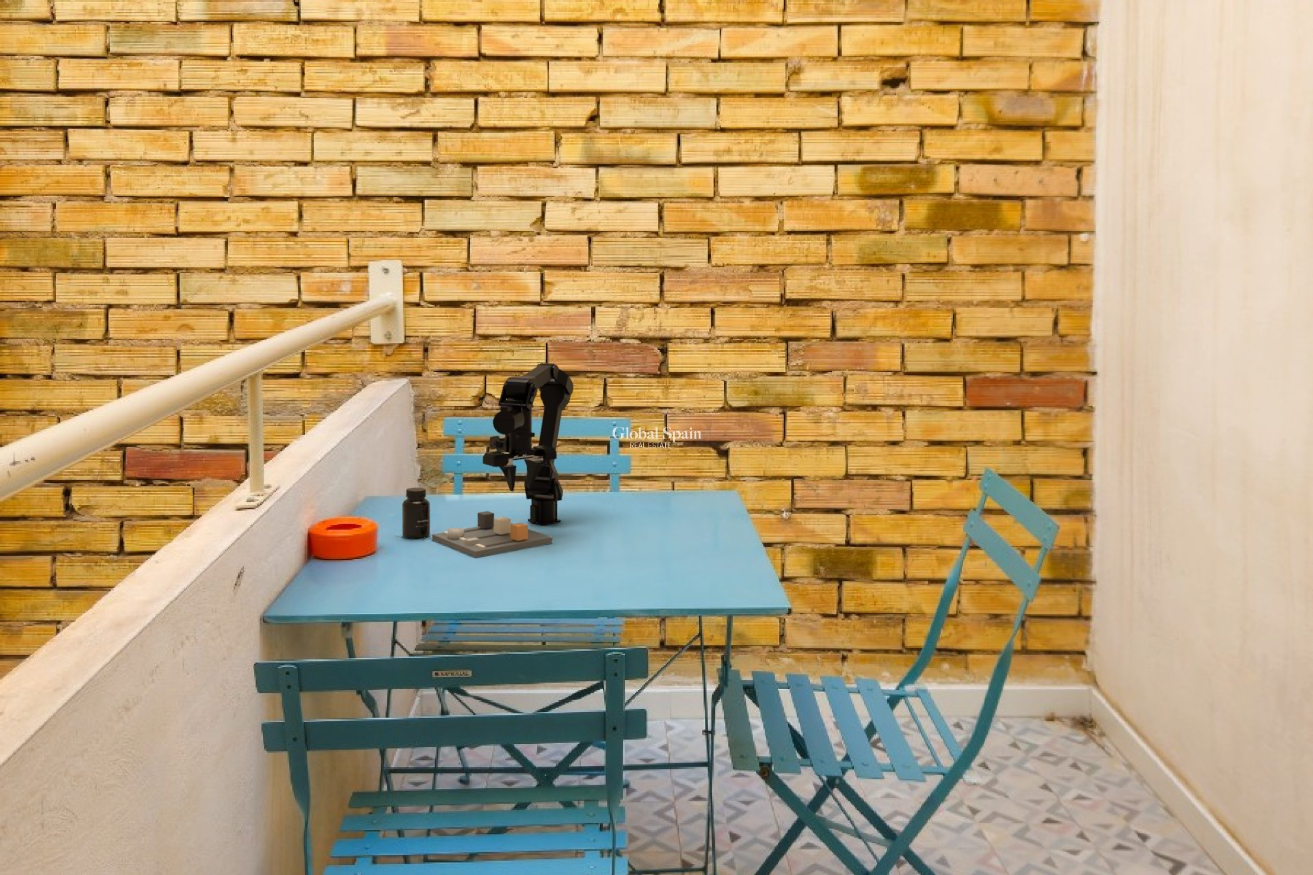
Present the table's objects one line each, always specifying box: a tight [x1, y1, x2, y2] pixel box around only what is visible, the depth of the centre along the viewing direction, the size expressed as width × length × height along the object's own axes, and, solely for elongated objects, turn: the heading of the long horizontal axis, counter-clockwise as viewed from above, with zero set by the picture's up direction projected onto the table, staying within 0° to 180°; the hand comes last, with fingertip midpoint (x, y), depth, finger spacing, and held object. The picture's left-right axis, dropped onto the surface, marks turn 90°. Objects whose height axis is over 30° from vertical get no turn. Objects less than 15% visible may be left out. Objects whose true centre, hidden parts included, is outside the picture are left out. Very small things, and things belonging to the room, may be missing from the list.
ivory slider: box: [494, 516, 512, 535], centre depth 305 cm, size 3×3×4 cm
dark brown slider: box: [477, 510, 495, 529], centre depth 311 cm, size 3×3×4 cm
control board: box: [431, 522, 553, 559], centre depth 303 cm, size 22×20×4 cm
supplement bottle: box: [401, 487, 431, 540], centre depth 307 cm, size 7×7×12 cm
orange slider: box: [511, 522, 529, 541], centre depth 299 cm, size 3×3×4 cm
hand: (520, 489), depth 307 cm, fingers open, 5 cm apart
